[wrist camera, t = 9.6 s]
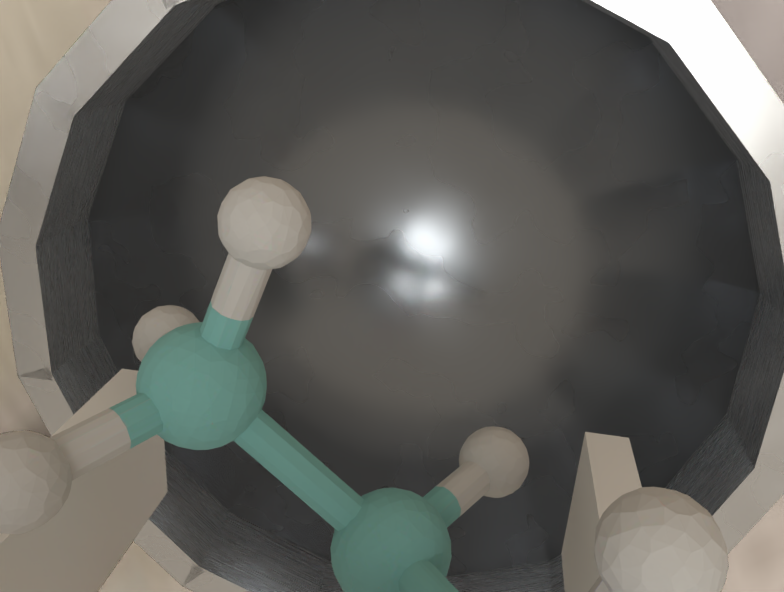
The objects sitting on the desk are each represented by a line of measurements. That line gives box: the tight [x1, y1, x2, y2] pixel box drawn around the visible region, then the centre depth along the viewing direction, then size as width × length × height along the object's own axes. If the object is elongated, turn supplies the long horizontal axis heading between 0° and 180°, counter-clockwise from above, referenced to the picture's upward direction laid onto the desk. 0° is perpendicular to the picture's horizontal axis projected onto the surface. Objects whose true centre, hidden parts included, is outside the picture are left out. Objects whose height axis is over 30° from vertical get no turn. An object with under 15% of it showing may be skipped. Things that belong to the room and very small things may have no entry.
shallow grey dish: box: [0, 0, 784, 592], centre depth 20 cm, size 20×20×4 cm
